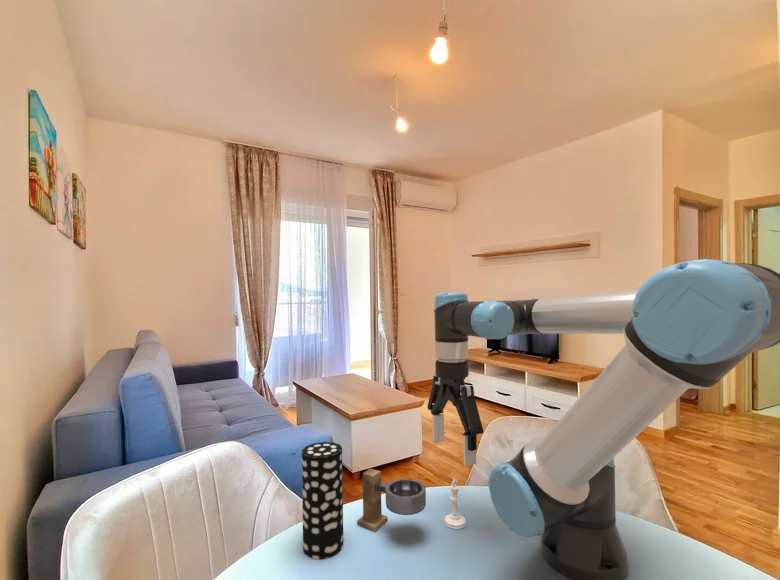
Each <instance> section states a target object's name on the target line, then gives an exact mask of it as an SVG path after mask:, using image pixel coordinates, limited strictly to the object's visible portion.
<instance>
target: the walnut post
mask: <svg viewBox="0 0 780 580" xmlns="http://www.w3.org/2000/svg"><path fill="white" fill-rule="evenodd" d="M378 481H382V472H381V471H380V470H377V469H374V468H369V469H367V470H365V471H364V472H362V516H361V517H359V519H357V520H356V526H357V527H361V528H363V529H366V530H369V531H371V532H374V533H376V532H377V531H378V530H379V529H380V528H382V527H383V526H384V525H385V524H386V523H387V522H388V516H387V515H385V514H382V492H381V491H378V490H375V484H376V483H377V482H378Z"/></svg>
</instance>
